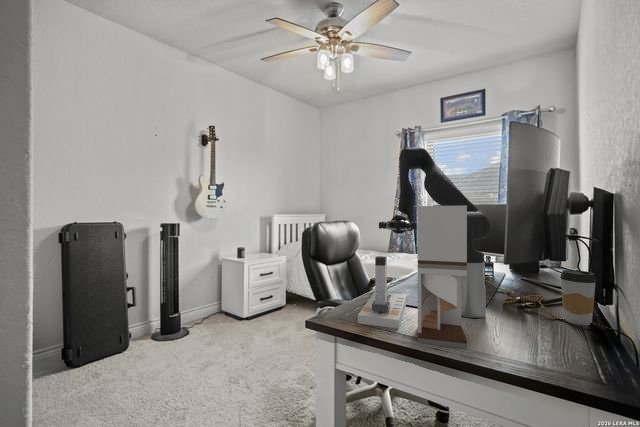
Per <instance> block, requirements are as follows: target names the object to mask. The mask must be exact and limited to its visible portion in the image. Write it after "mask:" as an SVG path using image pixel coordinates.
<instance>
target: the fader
mask: <svg viewBox="0 0 640 427" xmlns="http://www.w3.org/2000/svg"><path fill="white" fill-rule="evenodd" d="M374 260H375V262H374V263H375V264H374V267H375V268H374V272H375V278H374V283H375V286H374V287H375V289H374V290H375V291H374V292H375V301H374V302H373V303H372V311H380V312H389V310H390V302H387V293H388V290H387V284H388V283H387V280H388V279H387V264H388V263H387V256H381V255H377V256H375V257H374Z"/></svg>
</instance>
